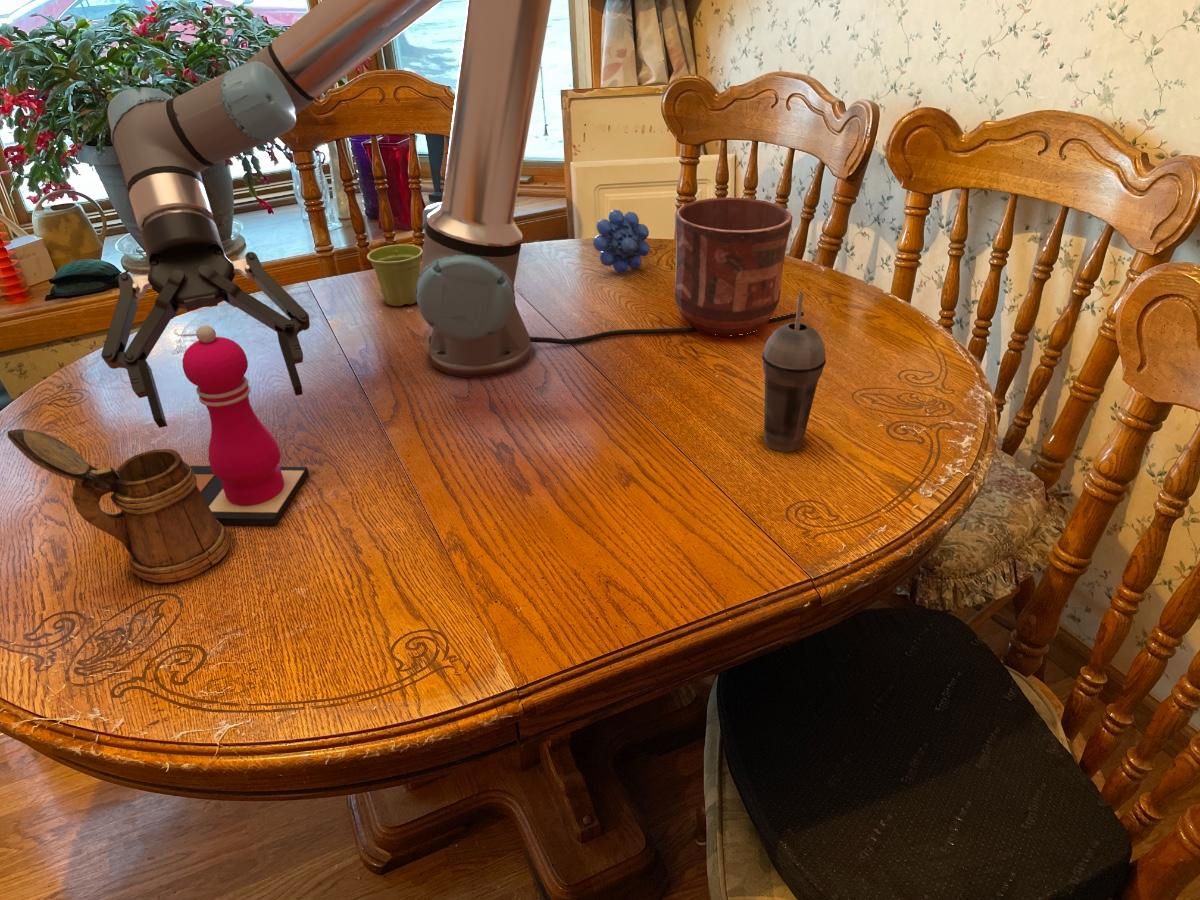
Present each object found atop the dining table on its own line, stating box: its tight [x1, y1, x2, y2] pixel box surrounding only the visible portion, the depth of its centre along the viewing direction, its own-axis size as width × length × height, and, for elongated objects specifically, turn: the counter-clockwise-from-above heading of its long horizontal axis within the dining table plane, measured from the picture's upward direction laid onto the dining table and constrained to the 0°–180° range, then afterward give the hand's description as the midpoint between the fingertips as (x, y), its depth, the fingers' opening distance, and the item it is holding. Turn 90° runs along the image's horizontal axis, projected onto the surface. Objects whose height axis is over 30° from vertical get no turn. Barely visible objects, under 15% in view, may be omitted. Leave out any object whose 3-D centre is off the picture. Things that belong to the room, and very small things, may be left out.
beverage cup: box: [761, 290, 827, 453], centre depth 91 cm, size 7×7×20 cm
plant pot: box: [366, 243, 423, 307], centre depth 136 cm, size 9×9×9 cm
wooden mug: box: [6, 428, 231, 585], centre depth 75 cm, size 9×14×18 cm, turn 122°
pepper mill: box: [182, 324, 284, 506], centre depth 83 cm, size 7×7×20 cm
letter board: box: [189, 465, 310, 527], centre depth 88 cm, size 15×10×1 cm, turn 87°
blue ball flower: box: [592, 209, 651, 274], centre depth 144 cm, size 12×7×12 cm, turn 116°
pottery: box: [674, 196, 793, 340], centre depth 122 cm, size 18×18×18 cm
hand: (232, 407), depth 82 cm, fingers open, 13 cm apart
